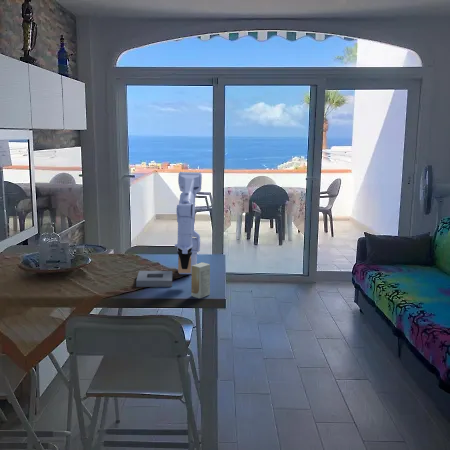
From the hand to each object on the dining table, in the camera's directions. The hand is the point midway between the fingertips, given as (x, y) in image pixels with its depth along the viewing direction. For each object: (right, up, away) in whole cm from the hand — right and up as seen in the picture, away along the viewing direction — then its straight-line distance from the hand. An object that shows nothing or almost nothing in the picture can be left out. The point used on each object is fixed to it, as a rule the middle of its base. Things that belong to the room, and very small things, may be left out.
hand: (184, 267), depth 191 cm
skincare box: (+7, -10, -9) cm, 15 cm away
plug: (0, -2, 0) cm, 2 cm away
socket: (-13, -7, +7) cm, 16 cm away
